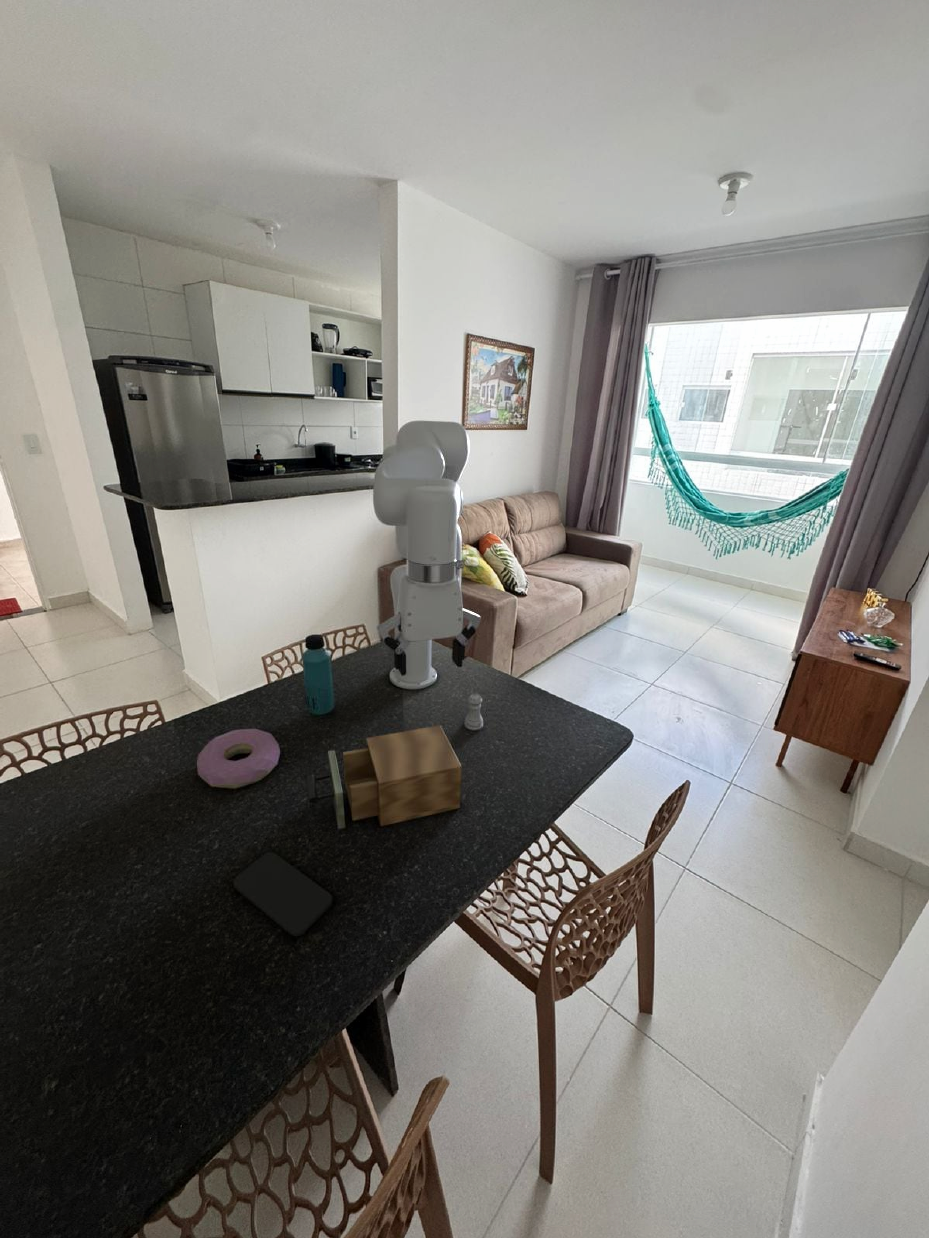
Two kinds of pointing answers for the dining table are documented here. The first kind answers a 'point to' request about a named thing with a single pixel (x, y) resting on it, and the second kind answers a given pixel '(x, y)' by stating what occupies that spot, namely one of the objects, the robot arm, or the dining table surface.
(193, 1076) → the dining table surface
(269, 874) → the phone
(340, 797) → the drawer
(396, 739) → the cabinet
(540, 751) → the dining table surface
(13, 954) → the dining table surface
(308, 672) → the beverage bottle
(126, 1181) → the dining table surface
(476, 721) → the rook chess piece
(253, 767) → the donut
